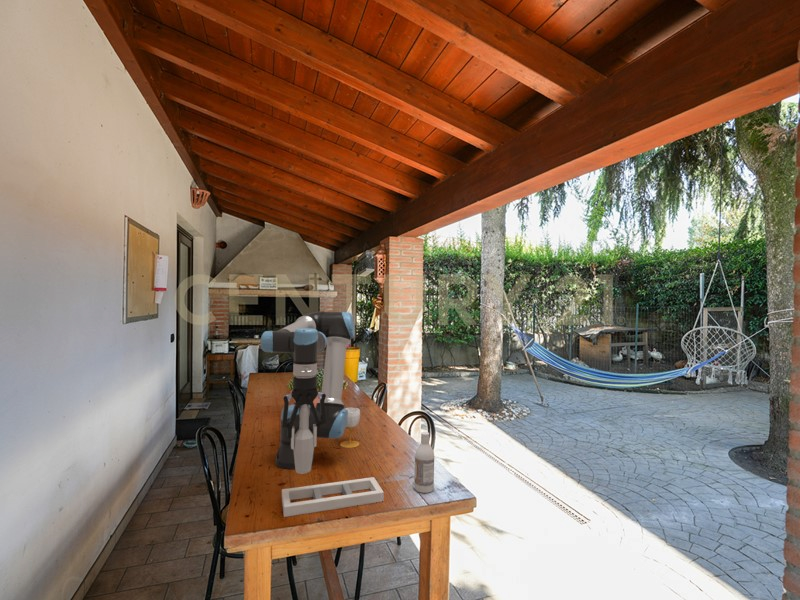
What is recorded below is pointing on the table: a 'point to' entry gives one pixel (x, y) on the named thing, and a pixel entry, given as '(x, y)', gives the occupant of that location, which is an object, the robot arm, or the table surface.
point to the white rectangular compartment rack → (331, 502)
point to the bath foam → (424, 466)
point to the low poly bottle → (303, 442)
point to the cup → (351, 426)
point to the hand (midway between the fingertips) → (303, 446)
